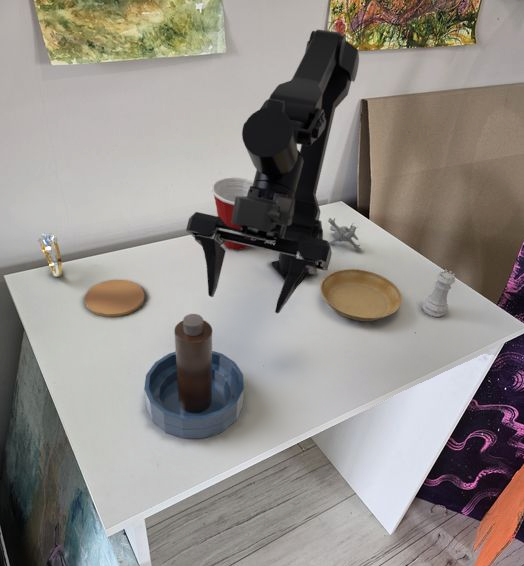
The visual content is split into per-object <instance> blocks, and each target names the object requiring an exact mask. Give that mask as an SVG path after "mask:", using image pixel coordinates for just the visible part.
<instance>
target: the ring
mask: <svg viewBox="0 0 524 566" xmlns="http://www.w3.org/2000/svg"><path fill="white" fill-rule="evenodd" d="M36 242H38V245H39V246H40V248H41V250H42V252H43V254H44V255H43V256H44V257H45V259H46V262H47V264H48V266H49V269H50V270H51V272H52V275H53V277H55V278H56V277H61V276H62V272H63V270H62V269H63V267H62V266H63V264H62V256H61V251H60V247H59V244H58V237H57V236H55V235H52V233H51V232H50V233H49V235H46V233H45V232H43V233H42V235H41V236H40V237H39V238H38V239H37V240H36ZM51 248H53V249H51ZM53 250H55V253H54V251H53Z"/></svg>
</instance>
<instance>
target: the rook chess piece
mask: <svg viewBox="0 0 524 566" xmlns="http://www.w3.org/2000/svg"><path fill="white" fill-rule="evenodd" d="M435 277H436V280H437V281H436V282H435V283H434V287H433V290H432V292H431V293H430V294H429V295H428V296H427V297H425V299H424V300H423V303H422V305H421V308H422V310H423V312H424V313H425V314H426V315H428V316H431V317H434V318H439V317H443V316H444V315H446V314H447V310H448V307H449V304H448V299H447V298H448V294H449V291H450V290H451V289H452V286H451V285H453V284H455V283H456V279H455V277H456V274H455V273H454V272H453V271H452V270H449V271H448V269H442V270H440V271H439V273H437V274H436V276H435Z"/></svg>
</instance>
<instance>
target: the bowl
mask: <svg viewBox="0 0 524 566" xmlns="http://www.w3.org/2000/svg"><path fill="white" fill-rule="evenodd" d="M144 379H145V380H144V385H143V390H144V391H143V392H144V398H145V407H146V410H147V412H148V415H149V417H150V420H151V421H152V423H153V424H155V425H156V426H157V427H158V428H160V429H161V430H162V432H165V433H166V434H168V435H172V436H175V437H178V438H181V439H205V438H208V437H212V436H214V435H217V434H220V433H223V432H225V431H226V429H228V428H229V427H230V426H231V425H233V424H234V423H235V422H237V420H238V418H239V415H240V414H241V411H242V409H243V406H244V394H245V383H244V381H245V380H244V374H243V372H242V370H241V369H240V368H239V366H238V364H237V362H235V361H234V360H232V359H231V358H229V357H228V356H226V354H224V353H221V352H218V351H214V350H212V402H211V405H210V406H209V407H208V408H207V409H206V410H205V411H202V412H199V413H191V412H187V411H185V410H184V409H182V408H181V406H180V404H179V397H178V381H177V365H176V351H173V352H170V353H168V354H166V355H164V356H163V357H161V358H160V359H157V360H156V361H155V362H154V363H153V365H152V366H151V367H150V368H149V370H148V371H147V372H146V374H145V378H144Z"/></svg>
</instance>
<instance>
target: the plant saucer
mask: <svg viewBox="0 0 524 566" xmlns="http://www.w3.org/2000/svg"><path fill="white" fill-rule="evenodd" d="M319 288H320V290H319V291H320V294H321V297H322V298H323V299H324V301H325V302H326V303H327V305H328V306H329V307H330V308H331V309H333V310H334V311H335V312H336V313H338V315H341V316H343V317H345V318H347V319H350V320H353V321H359V322H372V321H377V320H381V319H384V318H387V317H389V316H391V315H393V314H394V313H396V312H397V311H398V310H400V308H401V306H402V303H403V296H402V293H401V291H400V289H399V288H398V286H397V285H396V284H394V283H393V281H391V279H390V280H389V279H388V278H387V277H385V276H383V275H381V274H378V273H375V272H372V271H370V270H366V269H365V270H364V269H357V268H346V269H340V270H339V269H338V270H336V271H333V272H330V273H329V274H327V275H326V276H325V277H324V278H323V279H322V280H321V283H320V285H319Z"/></svg>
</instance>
